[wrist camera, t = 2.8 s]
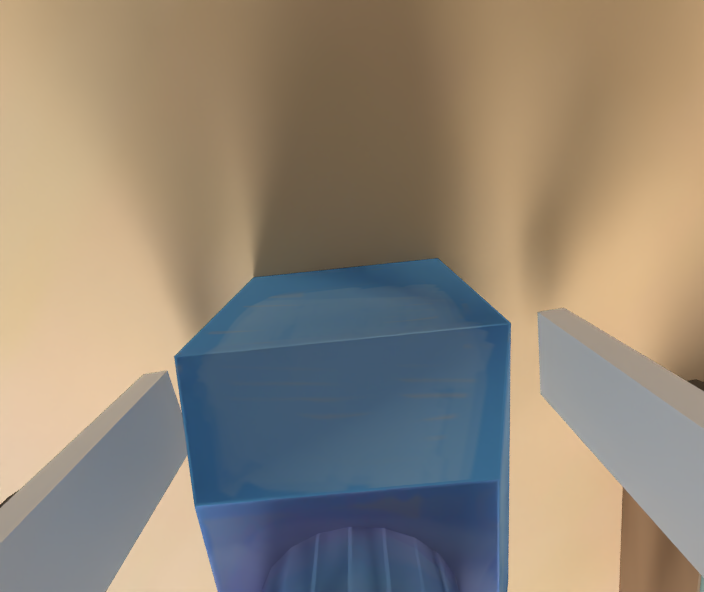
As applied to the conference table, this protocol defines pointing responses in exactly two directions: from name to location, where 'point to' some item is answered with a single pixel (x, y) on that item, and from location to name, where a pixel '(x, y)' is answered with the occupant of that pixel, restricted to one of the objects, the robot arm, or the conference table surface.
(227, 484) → the perfume bottle
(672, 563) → the walnut slab
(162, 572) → the conference table surface
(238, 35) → the conference table surface
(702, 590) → the teal slab
